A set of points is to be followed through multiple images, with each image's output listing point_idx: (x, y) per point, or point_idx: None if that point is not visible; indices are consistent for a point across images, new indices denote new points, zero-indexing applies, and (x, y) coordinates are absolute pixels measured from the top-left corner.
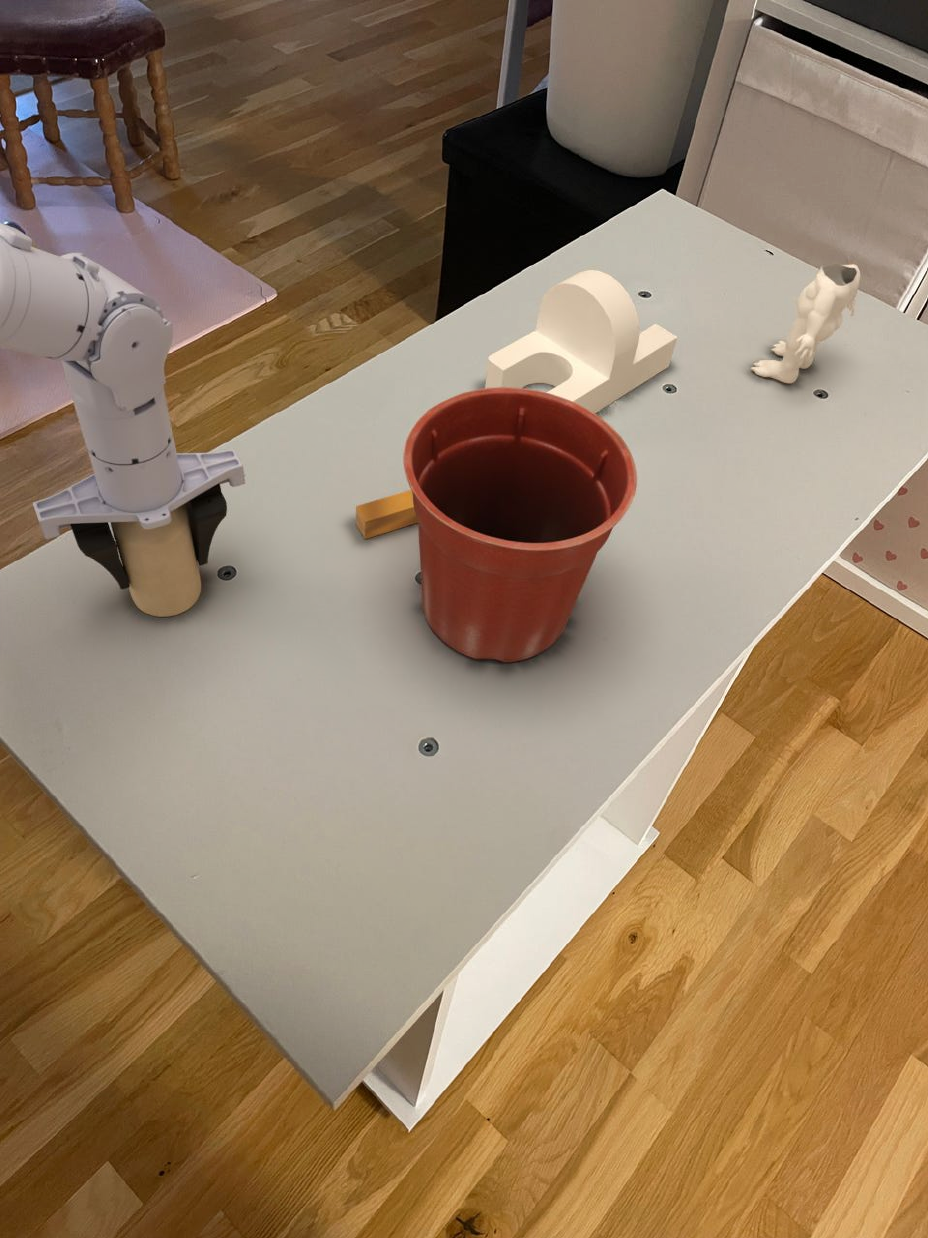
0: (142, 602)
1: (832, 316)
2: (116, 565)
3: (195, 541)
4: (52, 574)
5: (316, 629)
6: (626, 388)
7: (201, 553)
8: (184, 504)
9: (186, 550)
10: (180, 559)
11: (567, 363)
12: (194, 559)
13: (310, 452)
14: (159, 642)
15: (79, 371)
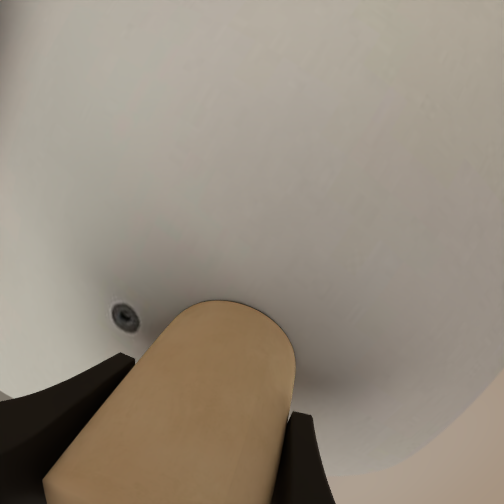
0: (287, 366)
1: None
2: (305, 500)
3: (95, 409)
4: (353, 458)
5: (60, 118)
6: None
7: (98, 378)
8: None
9: (101, 416)
10: (128, 410)
11: None
12: (124, 378)
13: (20, 372)
14: (311, 267)
15: None
